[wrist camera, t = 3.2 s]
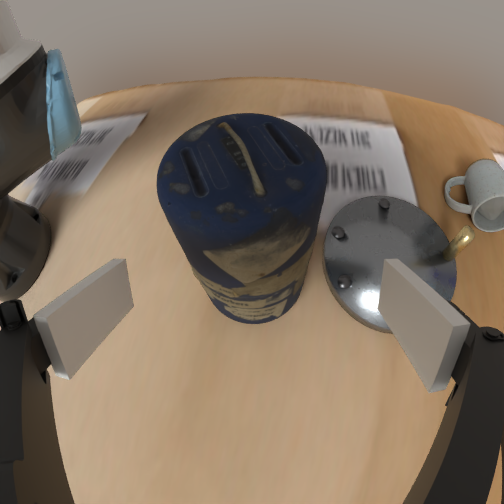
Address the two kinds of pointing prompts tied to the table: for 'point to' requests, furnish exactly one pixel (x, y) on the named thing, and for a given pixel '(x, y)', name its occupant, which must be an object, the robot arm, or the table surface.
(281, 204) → the canister
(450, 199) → the ceramic mug
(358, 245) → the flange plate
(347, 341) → the table surface
